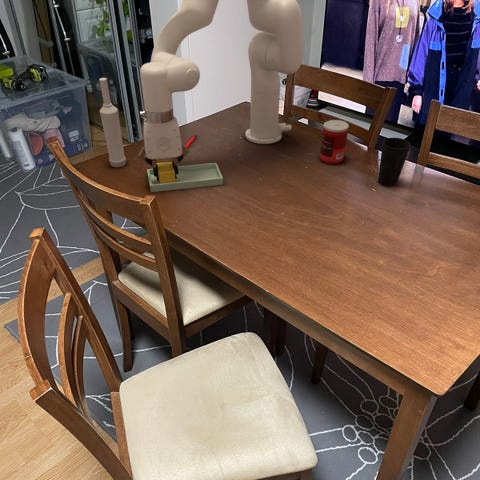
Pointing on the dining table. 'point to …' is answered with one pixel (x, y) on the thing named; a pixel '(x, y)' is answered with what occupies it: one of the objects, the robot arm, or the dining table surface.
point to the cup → (392, 160)
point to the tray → (189, 177)
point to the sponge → (166, 172)
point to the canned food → (333, 141)
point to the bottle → (111, 128)
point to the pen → (190, 141)
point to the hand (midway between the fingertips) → (166, 176)
